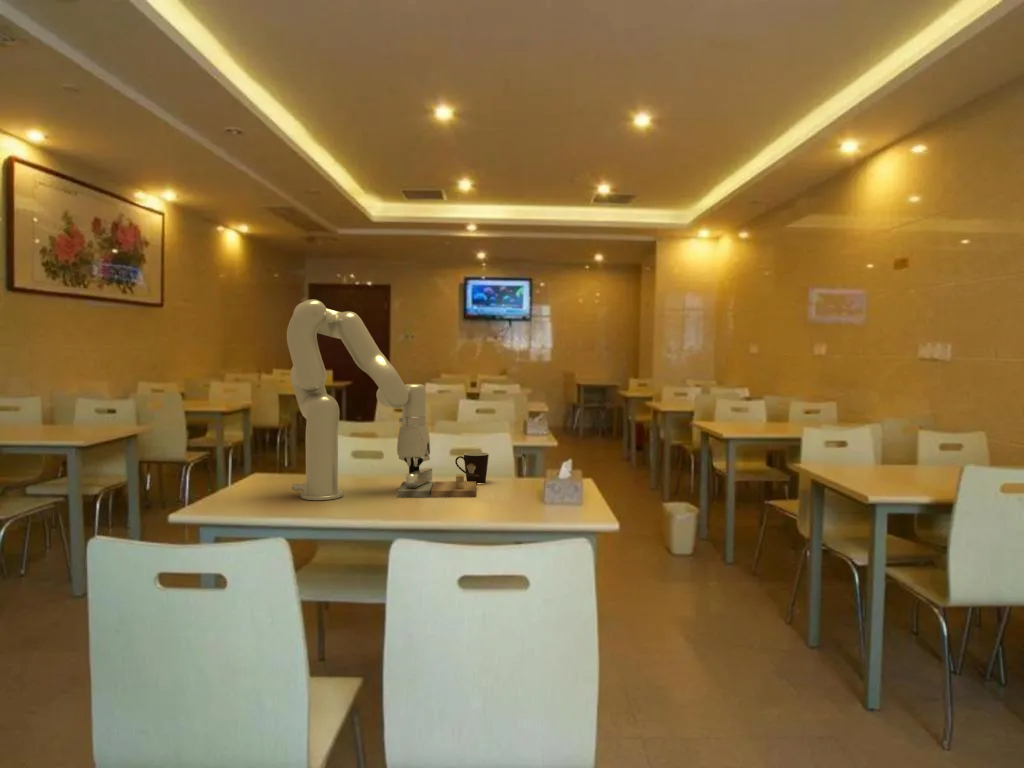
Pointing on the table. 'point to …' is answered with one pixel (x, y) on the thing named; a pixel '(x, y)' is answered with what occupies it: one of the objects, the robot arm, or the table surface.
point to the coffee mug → (475, 466)
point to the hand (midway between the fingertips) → (414, 478)
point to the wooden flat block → (440, 489)
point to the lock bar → (418, 477)
